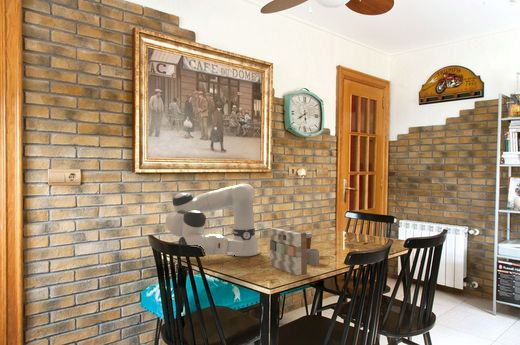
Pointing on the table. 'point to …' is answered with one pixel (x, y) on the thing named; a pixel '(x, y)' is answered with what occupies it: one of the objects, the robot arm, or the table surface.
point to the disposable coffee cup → (308, 239)
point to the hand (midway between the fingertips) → (244, 243)
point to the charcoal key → (273, 245)
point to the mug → (312, 256)
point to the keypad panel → (286, 261)
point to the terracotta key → (291, 250)
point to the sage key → (280, 248)
